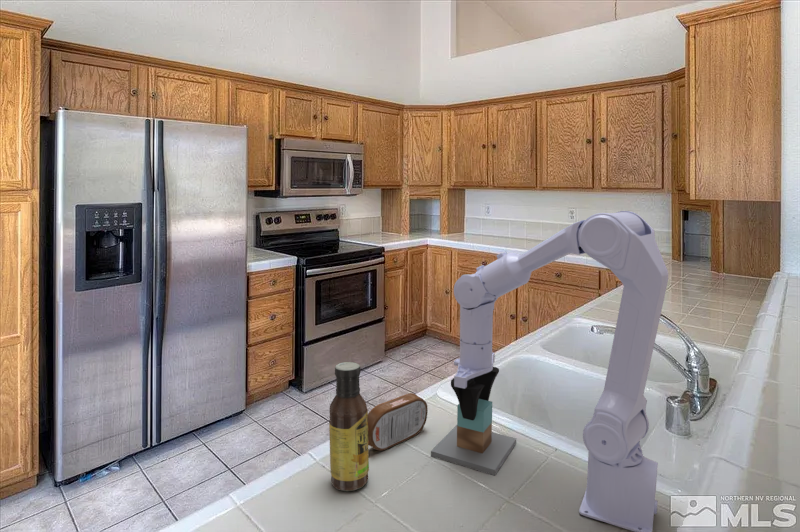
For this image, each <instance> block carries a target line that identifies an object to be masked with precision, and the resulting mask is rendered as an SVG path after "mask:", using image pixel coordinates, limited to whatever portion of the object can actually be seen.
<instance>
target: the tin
mask: <svg viewBox="0 0 800 532" xmlns="http://www.w3.org/2000/svg"><path fill="white" fill-rule="evenodd" d="M427 418H428V403H427V402H426V401H425V400H424V398H423V397H420V396H419V395H417V394H416V393H413V392H411V393H410V392H409V393H406V394H403V395H400V396H398V397H395V398H392V399H390V400H387V401H385V402H381V403H379V404H377V405H375V406H374V407H373V408H372V409H370V411H369V412H368V447H371V448H372V449H373V450H376V451H378V452H379V451H380V452H381V451H386V450H388V449H391V448H393V447H394V446H397V445H399V444H401V443H403V442H405V441H407V440H410V439H412V438H414V437H415V436H417V435H419V433H421V432H422V430H423V428H424V427H425V425H426V423H427Z"/></svg>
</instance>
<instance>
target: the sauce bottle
mask: <svg viewBox="0 0 800 532" xmlns="http://www.w3.org/2000/svg"><path fill="white" fill-rule="evenodd" d="M334 375H335V379H336V381H335V383H336V388H335V396H334V398H333V399H332V401H331V403H330V405H329V421H328V422H329V423H328V425H329V428H328V429H329V431H328V432H329V461H330V463H329V465H330V467H329V468H330V477H331V478H330V480H331V484H332V486H333V487H334V488H335V489H336V490H338V491H343V492H350V491H351V492H352V491H357V490H359V489H361V488H363V487H364V486H365V485H366V484H367V483H368V480H369V471H370V469H369V468H370V465H369V464H370V463H369V462H370V459H369V458H370V457H369V445H368V413H369V412H368V410H369V409H368V406H367V405H368V404H367V402H366V400H365V398H363V396H362V395H361V393H360V392H361V387H360V375H361V365H360V364H359V363H358V362H357V363H356V362H352V361H344V362H340V363H338V364H336V365H335V367H334Z"/></svg>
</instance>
